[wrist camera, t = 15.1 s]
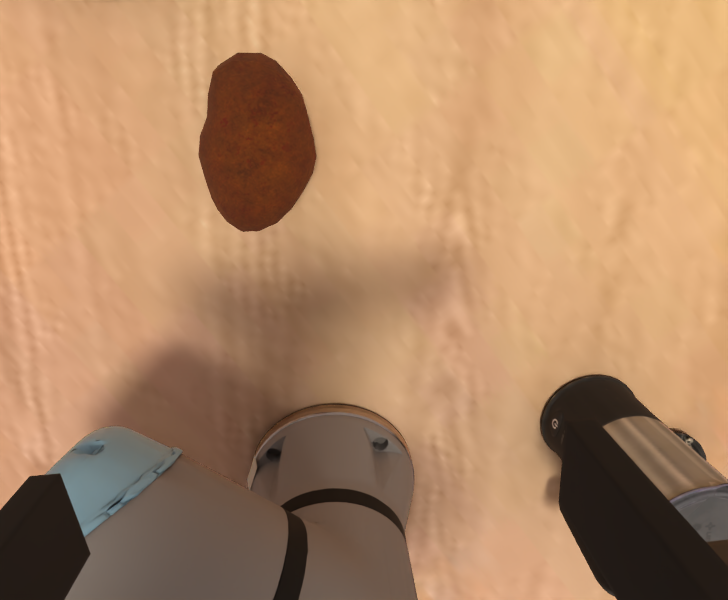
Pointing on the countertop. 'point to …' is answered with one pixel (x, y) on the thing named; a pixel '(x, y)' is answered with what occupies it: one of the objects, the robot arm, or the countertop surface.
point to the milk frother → (643, 453)
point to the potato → (255, 141)
